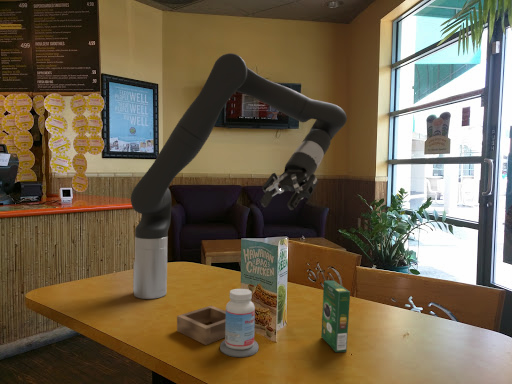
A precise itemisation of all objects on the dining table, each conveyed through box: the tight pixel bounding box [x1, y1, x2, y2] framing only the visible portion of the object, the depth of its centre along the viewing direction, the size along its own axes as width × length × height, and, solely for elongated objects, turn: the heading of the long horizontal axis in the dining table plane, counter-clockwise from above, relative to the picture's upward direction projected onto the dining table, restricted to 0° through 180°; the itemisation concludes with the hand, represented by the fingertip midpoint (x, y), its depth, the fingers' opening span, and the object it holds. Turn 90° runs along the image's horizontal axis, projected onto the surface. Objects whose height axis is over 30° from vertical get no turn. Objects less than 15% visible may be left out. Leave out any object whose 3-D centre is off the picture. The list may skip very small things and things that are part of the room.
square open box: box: [176, 305, 226, 346], centre depth 89 cm, size 10×10×4 cm
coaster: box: [219, 339, 259, 358], centre depth 81 cm, size 8×8×1 cm
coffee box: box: [320, 280, 351, 353], centre depth 84 cm, size 8×3×13 cm, turn 13°
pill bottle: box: [224, 288, 256, 350], centre depth 81 cm, size 6×6×11 cm
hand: (275, 206), depth 95 cm, fingers open, 8 cm apart
